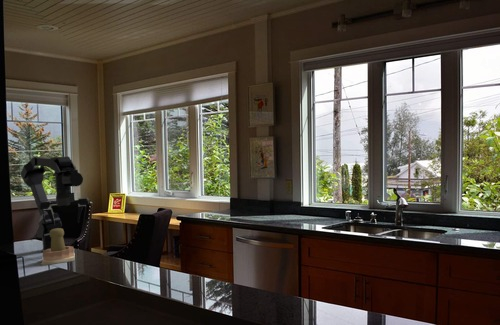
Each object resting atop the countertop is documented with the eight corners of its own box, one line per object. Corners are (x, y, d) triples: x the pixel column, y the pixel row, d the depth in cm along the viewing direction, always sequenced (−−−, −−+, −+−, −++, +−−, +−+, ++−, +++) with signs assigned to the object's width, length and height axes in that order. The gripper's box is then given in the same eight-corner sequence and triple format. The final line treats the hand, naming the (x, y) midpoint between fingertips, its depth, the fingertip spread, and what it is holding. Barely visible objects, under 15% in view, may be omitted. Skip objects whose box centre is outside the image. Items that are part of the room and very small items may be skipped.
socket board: (44, 259, 167) (43, 248, 167) (75, 255, 171) (74, 244, 171) (42, 265, 157) (41, 254, 157) (74, 260, 161) (73, 249, 161)
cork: (62, 258, 161) (60, 229, 161) (47, 259, 161) (44, 230, 161) (70, 254, 167) (67, 226, 167) (54, 255, 167) (52, 227, 167)
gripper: (36, 189, 167) (39, 229, 167) (87, 185, 173) (90, 223, 174) (39, 188, 177) (42, 225, 178) (87, 184, 184) (90, 220, 184)
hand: (66, 223), depth 178 cm, fingers open, 9 cm apart
